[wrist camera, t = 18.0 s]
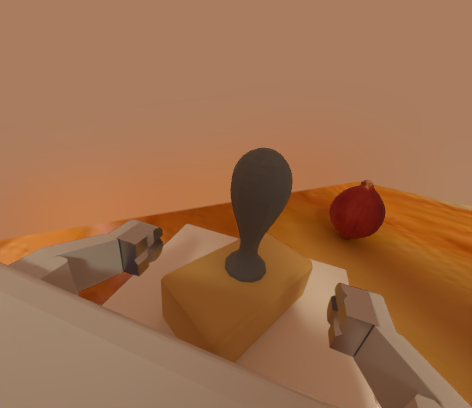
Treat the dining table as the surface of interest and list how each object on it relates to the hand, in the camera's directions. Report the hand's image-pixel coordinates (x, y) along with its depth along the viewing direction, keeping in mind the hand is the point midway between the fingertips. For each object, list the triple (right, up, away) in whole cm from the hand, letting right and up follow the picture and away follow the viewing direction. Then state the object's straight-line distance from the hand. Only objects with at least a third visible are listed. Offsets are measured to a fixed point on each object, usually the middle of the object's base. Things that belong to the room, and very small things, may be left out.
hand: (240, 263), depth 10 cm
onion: (+14, -2, +18) cm, 23 cm away
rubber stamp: (0, -5, +7) cm, 9 cm away
